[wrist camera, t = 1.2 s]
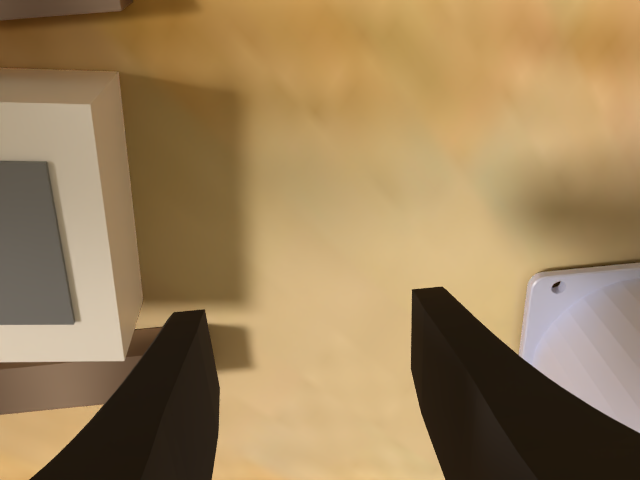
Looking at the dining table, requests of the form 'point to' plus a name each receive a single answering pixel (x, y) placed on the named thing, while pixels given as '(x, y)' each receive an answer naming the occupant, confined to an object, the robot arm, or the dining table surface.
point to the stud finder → (65, 218)
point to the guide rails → (65, 377)
